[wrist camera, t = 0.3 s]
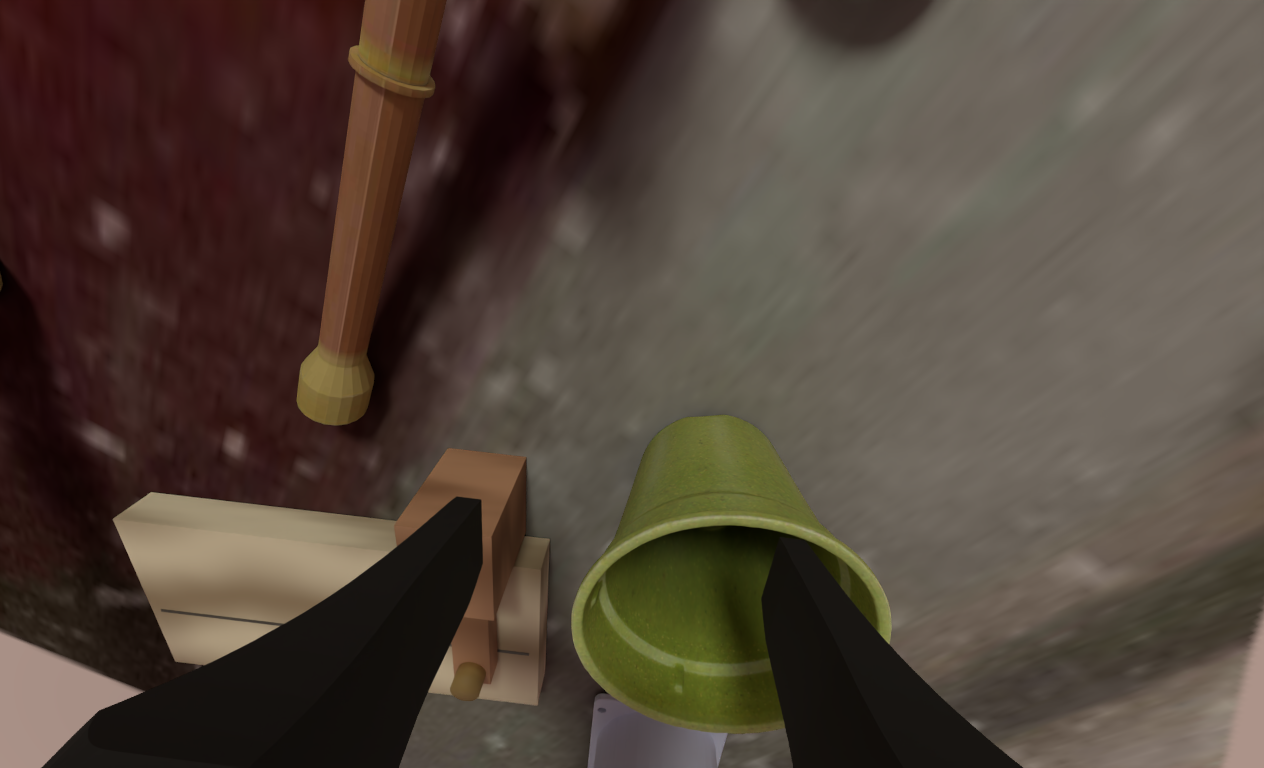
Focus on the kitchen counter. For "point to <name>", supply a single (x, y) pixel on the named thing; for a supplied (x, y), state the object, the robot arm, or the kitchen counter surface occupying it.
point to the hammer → (369, 199)
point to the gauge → (501, 536)
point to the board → (299, 580)
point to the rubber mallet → (1, 282)
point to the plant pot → (703, 580)
